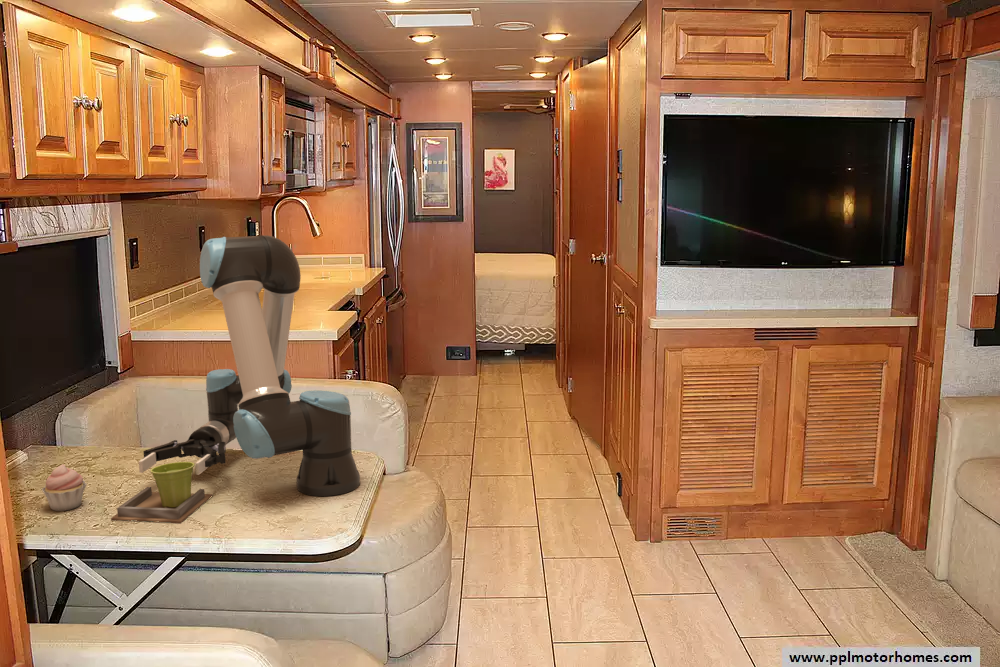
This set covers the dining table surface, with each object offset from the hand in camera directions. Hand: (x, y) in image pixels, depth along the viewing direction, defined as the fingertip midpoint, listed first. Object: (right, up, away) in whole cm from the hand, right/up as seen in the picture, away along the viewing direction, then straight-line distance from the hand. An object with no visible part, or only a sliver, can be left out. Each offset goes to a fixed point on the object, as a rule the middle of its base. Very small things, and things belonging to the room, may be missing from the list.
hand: (168, 468), depth 198 cm
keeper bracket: (0, -9, -2) cm, 9 cm away
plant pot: (+3, -8, -2) cm, 9 cm away
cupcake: (-23, -9, -1) cm, 25 cm away
